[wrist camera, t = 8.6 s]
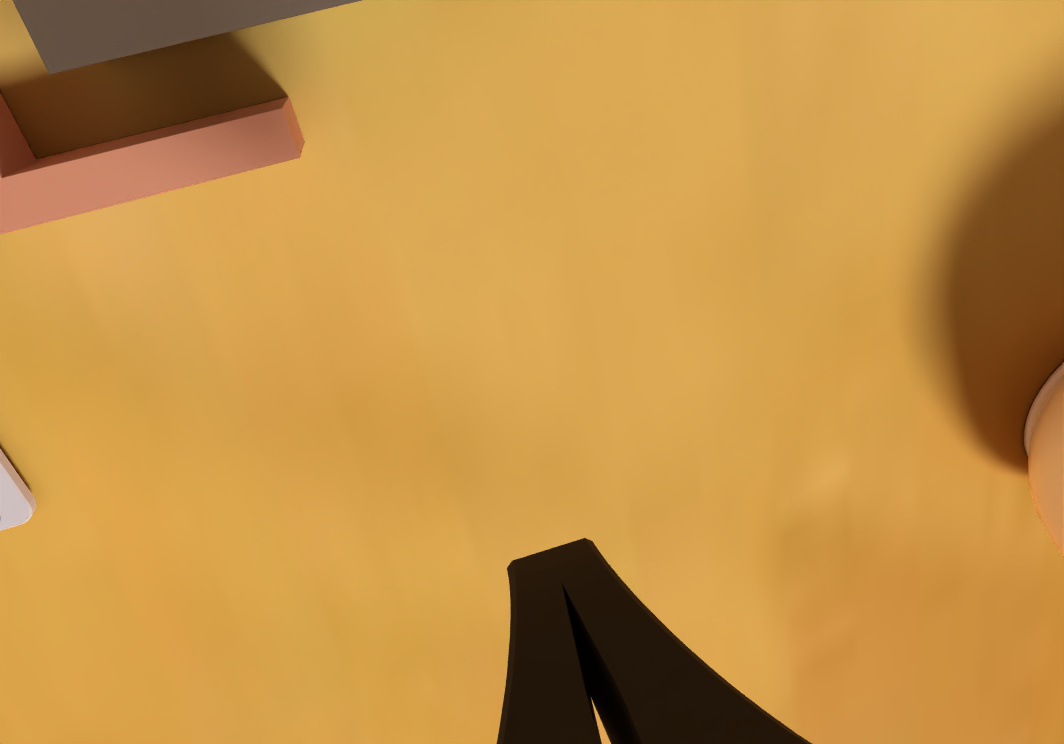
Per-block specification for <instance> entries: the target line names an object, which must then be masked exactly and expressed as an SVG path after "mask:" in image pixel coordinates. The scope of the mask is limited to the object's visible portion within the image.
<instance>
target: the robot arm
mask: <svg viewBox="0 0 1064 744" xmlns="http://www.w3.org/2000/svg"><path fill="white" fill-rule="evenodd" d="M35 509H36V501H35V498H34V497H33V495H32V494H31V492H30V491H29V489H28V488H27V486H26V485H25V484H24V482H23V481H22V479H21V478H20V476H19V475H18V473H17V472H16V471H15V469H14V468H13V466H12V465H11V463H10V462H9V460H8V459H7V458H6V456H5V455H4V453H3V452H2V450H1V449H0V531H1V530H4V529H8V528H11V527H15V526H18V525H21V524H23V523H25V522H27V521H28V520H29V519H30V517H31V516H32V514H33V513H34V511H35ZM507 571H508V577H509V584H510V599H511V621H510V643H509V656H508V668H507V679H506V687H505V694H504V701H503V708H502V715H501V721H500V728H499V734H498V740H497V744H602V743H601V739H600V734H599V730H598V726H597V721H596V717H595V713H594V709H593V704H592V700H593V703H594V705H595V707H596V710H597V712H598V714H599V717H600V719H601V721H602V724H603V726H604V728H605V730H606V733H607V735H608V737H609V740H610V742H611V744H812V743H810V742H808V741H807V740H805V739H804V738H802V737H801V736H799V735H798V734H796V733H795V732H794V731H792V730H791V729H789V728H788V727H787V726H785V725H784V724H782V723H781V722H780V721H778V720H777V719H775V718H774V717H773V716H771V715H770V714H769V713H767V712H766V711H764V710H763V709H762V708H760V707H759V706H758V705H757V704H755V703H754V702H753V701H751V700H750V699H749V698H747V697H746V696H745V695H744V694H742V693H741V692H740V691H738V690H737V689H736V688H735V687H733V686H732V685H731V684H730V683H728V682H727V681H726V680H725V679H724V678H722V677H721V676H720V675H719V674H718V673H716V672H715V671H714V670H713V669H712V668H711V667H709V666H708V665H707V664H706V663H705V662H704V661H703V660H701V659H700V658H699V657H698V656H697V655H696V654H695V653H694V652H692V651H691V650H690V649H689V648H688V647H687V646H686V645H685V644H684V643H683V642H681V641H680V640H679V639H678V638H677V637H676V636H675V635H674V634H673V633H672V632H671V631H670V630H669V629H668V628H667V627H666V626H665V625H664V624H663V623H662V622H661V621H660V620H659V619H658V618H657V617H656V616H655V615H654V614H653V613H652V612H651V611H650V610H649V609H648V608H647V607H646V606H645V605H644V604H643V603H642V602H641V601H640V600H639V599H638V598H637V596H636V595H635V594H634V593H633V592H632V591H631V590H630V589H629V588H628V586H627V585H626V584H625V583H624V582H623V581H622V580H621V578H620V577H619V576H618V575H617V574H616V572H615V571H614V570H613V569H612V568H611V566H610V565H609V564H608V563H607V561H606V560H605V559H604V557H603V556H602V555H601V553H600V552H599V550H598V549H597V548H596V546H595V544H594V543H593V541H590V540H588V539H586V538H583V539H580V540H577V541H574V542H571V543H567V544H564V545H561V546H558V547H555V548H551V549H548V550H545V551H542V552H539V553H536V554H532V555H529V556H526V557H523V558H520V559H516V560H513V561H512V562H511V563H510V565H509V566H508V568H507ZM591 698H592V700H591Z"/></svg>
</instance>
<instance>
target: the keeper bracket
mask: <svg viewBox="0 0 1064 744" xmlns="http://www.w3.org/2000/svg"><path fill="white" fill-rule="evenodd" d="M303 146H304V139H303V136H302V133H301V130H300V128H299V125H298V122H297V119H296V116H295V113H294V110H293V108H292V105H291V102H290V99H289V97H286V98H282V99H278V100H274V101H270V102H266V103H262V104H258V105H254V106H250V107H246V108H242V109H238V110H234V111H230V112H225V113H221V114H217V115H213V116H209V117H205V118H201V119H197V120H193V121H189V122H185V123H181V124H177V125H173V126H169V127H165V128H161V129H157V130H153V131H149V132H145V133H141V134H137V135H133V136H129V137H125V138H121V139H117V140H113V141H109V142H105V143H101V144H97V145H93V146H89V147H84V148H80V149H76V150H72V151H68V152H64V153H60V154H56V155H52V156H48V157H44V158H40V159H36V158H35V156H34V154H33V153H32V151H31V149H30V147H29V145H28V143H27V141H26V140H25V138H24V136H23V134H22V132H21V130H20V128H19V126H18V125H17V123H16V121H15V119H14V117H13V115H12V113H11V111H10V110H9V108H8V106H7V104H6V102H5V100H4V98H3V97H2V95H1V93H0V234H4V233H8V232H11V231H15V230H19V229H23V228H27V227H31V226H35V225H39V224H43V223H47V222H51V221H54V220H58V219H62V218H66V217H70V216H74V215H78V214H82V213H86V212H90V211H93V210H97V209H101V208H105V207H109V206H113V205H117V204H121V203H125V202H129V201H133V200H136V199H140V198H144V197H148V196H152V195H156V194H160V193H164V192H168V191H172V190H175V189H179V188H183V187H187V186H191V185H195V184H199V183H203V182H207V181H211V180H215V179H218V178H222V177H226V176H230V175H234V174H238V173H242V172H246V171H250V170H254V169H257V168H261V167H265V166H269V165H273V164H277V163H281V162H285V161H289V160H293V159H297V158H300V155H301V152H302V149H303Z"/></svg>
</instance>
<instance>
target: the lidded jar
mask: <svg viewBox="0 0 1064 744" xmlns="http://www.w3.org/2000/svg"><path fill="white" fill-rule="evenodd" d="M1024 447H1025V451H1026V454H1027V456H1028V474H1029V486H1030V490H1031V494H1032V498H1033V501H1034V505H1035V508H1036V511H1037V514H1038V516H1039V518H1040V520H1041V522H1042V523H1043V525H1044V527H1045V529H1046V531H1047V533H1048V534H1049V536H1050V538H1051V540H1052V542H1053V543H1054V545H1055V546H1056V547H1057V549H1058V550H1059V551H1060V553H1061V554H1062V555H1063V556H1064V362H1063V363H1062V364H1061V365H1060V366H1059V367H1058V368H1057V369H1056V370H1055V371H1054V372H1053V373H1052V374H1051V376H1050V377H1049V378H1048V380H1047V381H1046V382H1045V383H1044V385H1043V386H1042V388H1041V389H1040V391H1039V393H1038V394H1037V396H1036V397H1035V399H1034V401H1033V403H1032V406H1031V408H1030V410H1029V413H1028V416H1027V419H1026V422H1025V428H1024Z"/></svg>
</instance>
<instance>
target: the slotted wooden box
mask: <svg viewBox="0 0 1064 744" xmlns="http://www.w3.org/2000/svg"><path fill="white" fill-rule="evenodd" d="M357 1H361V0H13V2H14V4H15V6H16V8H17V10H18V12H19V14H20V16H21V18H22V20H23V22H24V24H25V26H26V28H27V30H28V32H29V34H30V36H31V38H32V40H33V42H34V44H35V46H36V48H37V50H38V52H39V54H40V56H41V58H42V60H43V62H44V64H45V66H46V68H47V70H48V72H49V74H54V73H58V72H62V71H66V70H71V69H75V68H79V67H83V66H87V65H92V64H96V63H100V62H104V61H109V60H113V59H117V58H121V57H125V56H130V55H134V54H138V53H142V52H146V51H151V50H155V49H159V48H163V47H167V46H172V45H176V44H180V43H184V42H189V41H193V40H197V39H201V38H205V37H210V36H214V35H218V34H222V33H226V32H231V31H235V30H239V29H243V28H247V27H252V26H256V25H260V24H264V23H269V22H273V21H277V20H281V19H285V18H290V17H294V16H298V15H302V14H306V13H311V12H315V11H319V10H323V9H327V8H332V7H336V6H340V5H344V4H349V3H353V2H357Z"/></svg>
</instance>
